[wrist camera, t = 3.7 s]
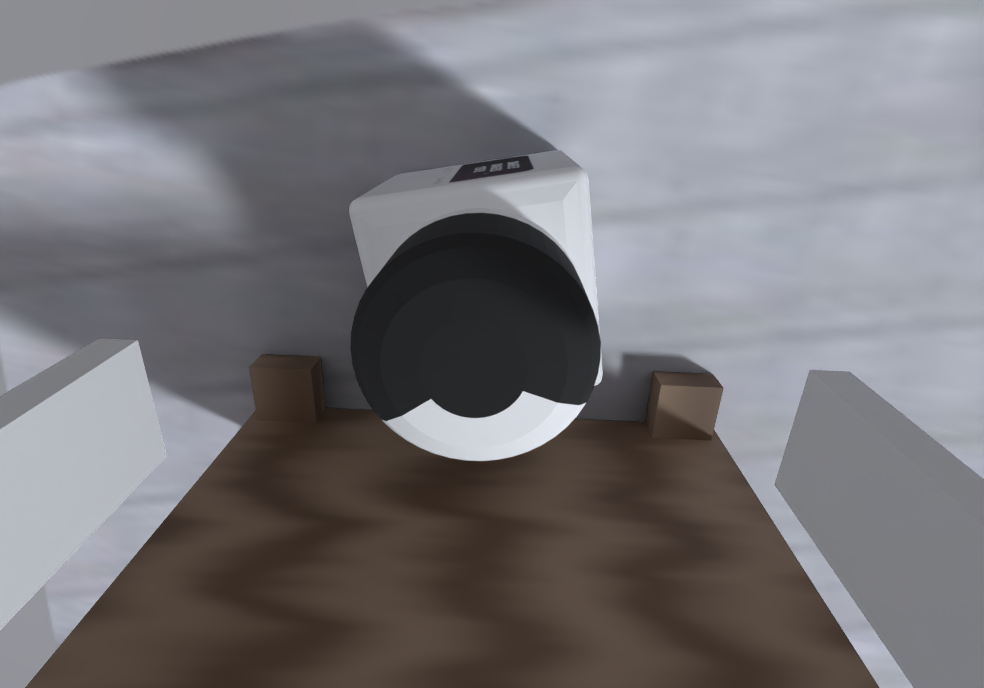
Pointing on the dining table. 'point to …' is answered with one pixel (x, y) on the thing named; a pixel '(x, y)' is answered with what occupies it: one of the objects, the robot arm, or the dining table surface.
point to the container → (478, 304)
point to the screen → (462, 563)
